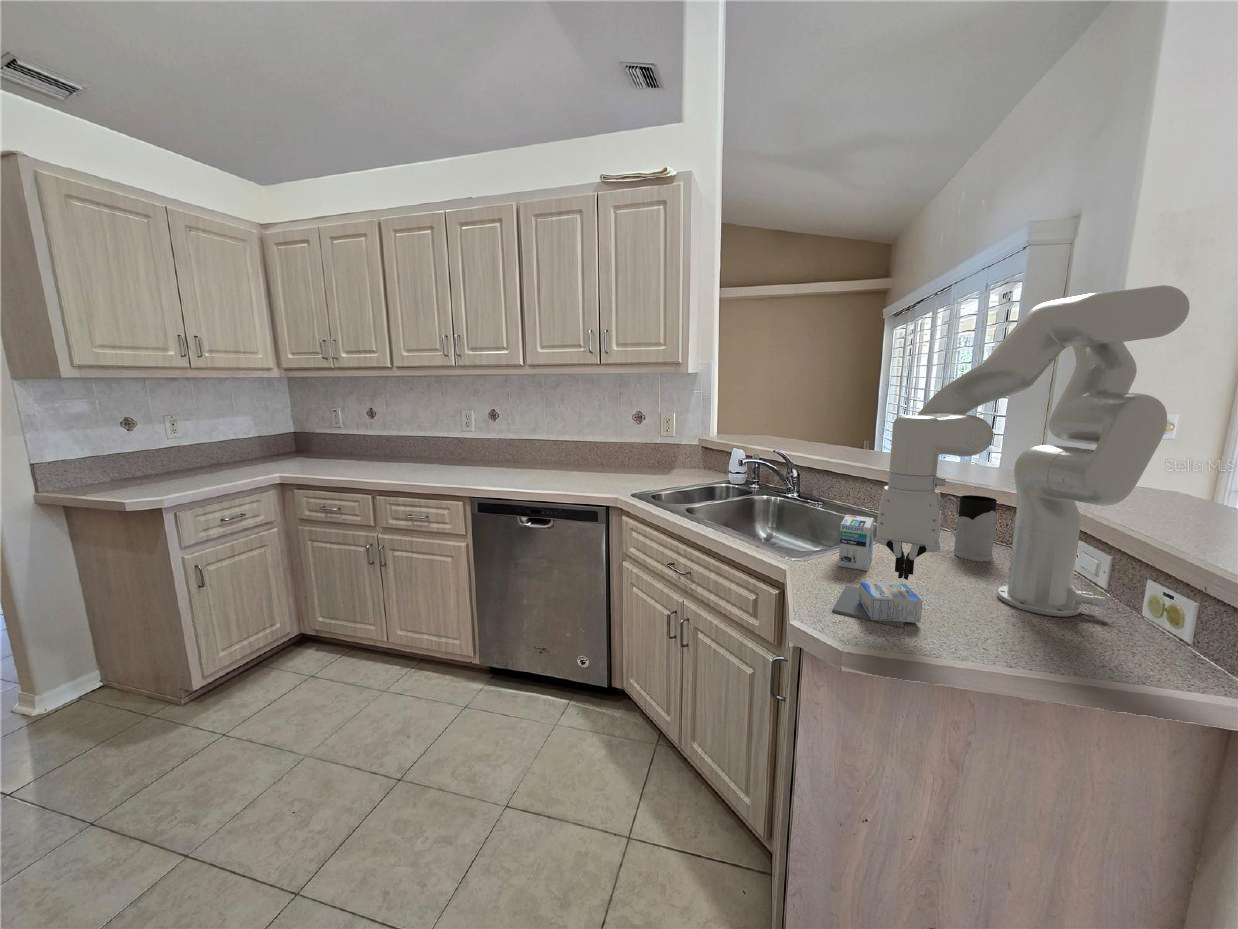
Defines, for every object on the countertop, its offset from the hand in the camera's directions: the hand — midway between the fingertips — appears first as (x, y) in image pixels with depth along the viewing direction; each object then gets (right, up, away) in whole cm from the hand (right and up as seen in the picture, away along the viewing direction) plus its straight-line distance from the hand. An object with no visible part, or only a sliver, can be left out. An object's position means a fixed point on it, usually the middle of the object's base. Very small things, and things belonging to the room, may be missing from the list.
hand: (903, 576), depth 93 cm
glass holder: (+36, -2, +35) cm, 50 cm away
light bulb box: (+4, -3, +28) cm, 29 cm away
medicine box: (+1, -5, -1) cm, 5 cm away
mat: (-4, -7, +4) cm, 9 cm away
